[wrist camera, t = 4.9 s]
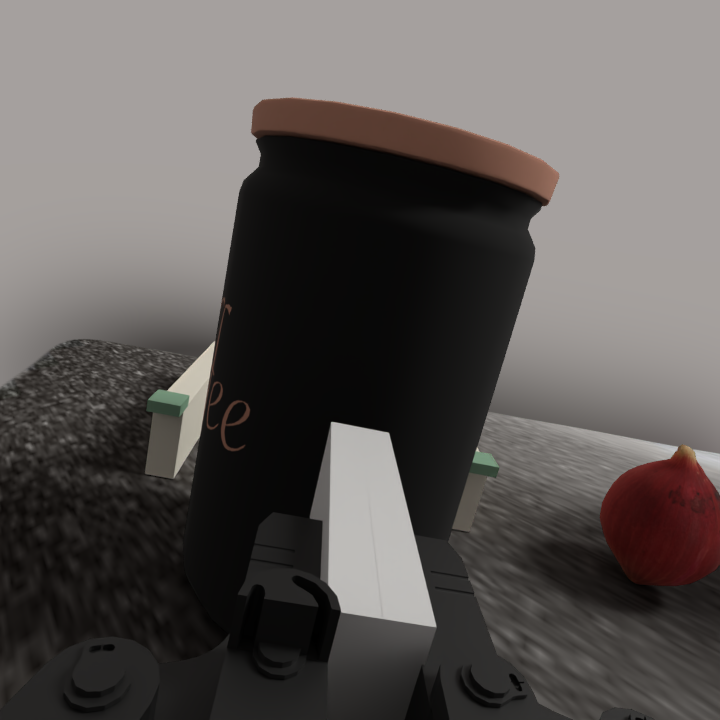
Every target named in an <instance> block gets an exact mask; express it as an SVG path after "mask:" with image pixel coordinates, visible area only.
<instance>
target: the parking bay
mask: <svg viewBox="0 0 720 720" xmlns="http://www.w3.org/2000/svg"><path fill="white" fill-rule="evenodd" d="M214 347H215V342H213V343H212V345H211V346H210V347H209V348H208V349H207V350H206V351H205V352H204V353H203V354H202V355H201V356H200V357H199V358H198V359H197V360H196V361H195V362H194V363H193V364H192V365H191V366H190V367H189V368H188V370H187V371H186V372H185V373H184V374H183V375H182V376H181V377H180V378H179V379H178V380H177V381H176V382H175V383H174V384H173V385H172V386H171V387H170V388H169V389H168V390H167V391H165V390H159V389H158V390H157V391H156V392H155V393H154V394H153V395H152V396H151V397H150V398H149V399H148V402H147V410H146V411H149V412H153V417H152V424H151V431H150V439H149V446H148V454H147V461H146V469H145V474H148V475H153V476H159V477H164V478H170V479H174V477H175V476H176V474H177V472H178V471H179V469H180V468H181V466H182V464H183V463H184V461H185V460H186V458H187V456H188V455H189V453H190V451H191V450H192V448H193V447H194V445H195V443H196V442H197V440H198V438H199V437H200V434H201V428H202V421H203V415H204V409H205V403H206V397H207V390H208V384H209V378H210V372H211V365H212V359H213V353H214ZM498 470H499V466H498V465H497V463H496V461H495V460H494V458H493V457H492V455H491V454H488V453H483V452H480V451H479V450H478V448H477V449H476V452H475V455H474V459H473V462H472V465H471V468H470V472H469V475H468V478H467V481H466V485H465V488H464V491H463V494H462V498H461V501H460V504H459V507H458V511H457V514H456V517H455V521H454V524H453V527H452V529H455V530H461V531H466V532H470V530H471V527H472V523H473V520H474V517H475V514H476V511H477V508H478V504H479V501H480V498H481V495H482V492H483V489H484V486H485V482H486V479H487V476H490V477H495V478H496V476H497V473H498Z"/></svg>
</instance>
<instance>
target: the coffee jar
mask: <svg viewBox="0 0 720 720" xmlns="http://www.w3.org/2000/svg"><path fill="white" fill-rule="evenodd" d="M251 133H252V134H253V135H254V136H255V137H256V138H257V140H256V143H257V145H258V148H259V150H260V153H261V157H260V163H259V167H258V168H257V169H256V170H255V171H254V172H253V173H251V174H250V175H249V176H248V177H247V178H246V179H245V180H244V181H243V184H242V186H241V189H240V192H239V197H238V203H237V210H236V216H235V222H234V229H233V235H232V241H231V247H230V253H229V260H228V266H227V272H226V279H225V285H224V291H223V297H222V303H221V309H220V316H219V322H218V328H217V334H216V340H215V347H214V353H213V359H212V365H211V372H210V378H209V384H208V390H207V397H206V403H205V409H204V415H203V421H202V428H201V434H200V440H199V446H198V453H197V459H196V465H195V471H194V478H193V484H192V490H191V496H190V502H189V509H188V515H187V521H186V527H185V534H184V540H183V549H184V570H185V573H186V576H187V578H188V580H189V582H190V584H191V586H192V588H193V589H194V591H195V593H196V595H197V597H198V599H199V601H200V602H201V604H202V606H203V607H204V608H205V609H206V611H207V613H208V614H209V616H210V618H211V619H212V620H213V621H214V622H215V623H216V624H218V625H219V626H220V627H221V628H222V629H223V630H224V631H226V632H227V633H228V634H230V630H231V625H232V620H233V615H234V610H235V605H236V600H237V595H238V593H239V591H240V589H241V587H242V586H243V584H244V582H245V580H246V575H247V571H248V567H249V563H250V559H251V555H252V551H253V547H254V543H255V539H256V535H257V531H258V527H259V525H260V524H261V523H262V522H263V521H264V520H265V519H266V518H267V517H268V516H269V515H270V514H272V513H273V512H275V513H281V514H287V515H292V516H298V517H304V518H310V513H311V509H312V504H313V500H314V496H315V491H316V487H317V482H318V478H319V474H320V469H321V465H322V460H323V456H324V452H325V447H326V443H327V438H328V434H329V430H330V425H331V422H336V423H341V424H346V425H351V426H356V427H362V428H367V429H372V430H377V431H382V432H387V433H389V435H390V439H391V443H392V447H393V451H394V455H395V459H396V463H397V467H398V472H399V476H400V480H401V484H402V488H403V492H404V496H405V500H406V504H407V508H408V512H409V516H410V520H411V525H412V529H413V533H414V535H418V536H424V537H429V538H435V539H441V540H446V541H447V542H448V540H449V537H450V534H451V530H452V527H453V524H454V521H455V517H456V514H457V511H458V507H459V504H460V501H461V498H462V494H463V491H464V488H465V485H466V481H467V478H468V475H469V472H470V468H471V465H472V462H473V459H474V455H475V452H476V449H477V446H478V442H479V439H480V436H481V432H482V429H483V426H484V423H485V419H486V416H487V413H488V410H489V406H490V403H491V400H492V396H493V393H494V390H495V387H496V383H497V380H498V377H499V374H500V371H501V367H502V364H503V361H504V357H505V354H506V351H507V347H508V344H509V341H510V338H511V335H512V331H513V328H514V325H515V321H516V318H517V315H518V312H519V309H520V305H521V302H522V299H523V296H524V292H525V289H526V286H527V282H528V279H529V276H530V273H531V269H532V266H533V263H534V257H535V246H534V244H533V241H532V239H531V236H530V234H529V231H528V226H529V223H530V220H531V218H532V217H533V216H534V215H536V214H537V213H538V212H539V211H540V209H541V207H542V206H546V205H548V203H549V201H550V199H551V197H552V194H553V192H554V189H555V187H556V184H557V182H558V179H559V173H558V172H557V171H555V170H554V169H553V168H552V167H550V166H549V165H548V164H547V163H545V162H544V161H543V160H541V159H539V158H537V157H535V156H532V155H530V154H528V153H526V152H523V151H521V150H519V149H517V148H515V147H512V146H510V145H508V144H505V143H502V142H499V141H496V140H493V139H490V138H487V137H484V136H481V135H477V134H474V133H471V132H468V131H465V130H462V129H459V128H456V127H452V126H448V125H444V124H440V123H436V122H432V121H428V120H424V119H420V118H416V117H412V116H408V115H404V114H400V113H396V112H391V111H385V110H380V109H374V108H369V107H363V106H358V105H352V104H346V103H341V102H333V101H323V100H312V99H302V98H280V99H266V100H262V101H261V102H259V103H258V104H257V105H256V106H255V107H254V109H253V117H252V129H251Z"/></svg>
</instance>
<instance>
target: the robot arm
mask: <svg viewBox="0 0 720 720" xmlns="http://www.w3.org/2000/svg"><path fill="white" fill-rule="evenodd" d="M0 720H572V719H570V718H568V717H565V716H563V715H561V714H558V713H556V712H554V711H552V710H550V709H548V708H546V707H544V706H542V705H540V704H539V703H538V702H537V700H536V697H535V695H534V693H533V691H532V689H531V687H530V686H529V684H528V683H527V681H526V679H525V678H524V676H523V675H522V674H521V673H520V672H519V671H518V670H517V669H516V668H515V667H514V666H513V665H512V664H511V663H510V662H508V661H506V660H505V659H503V658H501V657H500V656H498V655H497V654H496V651H495V648H494V645H493V643H492V640H491V637H490V634H489V632H488V629H487V626H486V624H485V621H484V618H483V615H482V613H481V610H480V607H479V604H478V602H477V599H476V597H474V591H473V588H472V585H471V583H470V581H468V574H467V572H466V569H465V566H464V564H463V561H462V558H461V557H460V556H459V555H458V554H457V552H456V551H455V550H454V549H453V548H452V547H451V546H450V545H449V543H448V542H447V541H446V540H441V539H435V538H429V537H424V536H418V535H414V533H413V529H412V525H411V520H410V516H409V512H408V508H407V504H406V500H405V496H404V492H403V488H402V484H401V480H400V476H399V472H398V467H397V463H396V459H395V455H394V451H393V447H392V443H391V439H390V435H389V433H387V432H382V431H377V430H372V429H367V428H362V427H356V426H351V425H346V424H341V423H336V422H331V425H330V430H329V434H328V438H327V443H326V447H325V452H324V456H323V460H322V465H321V469H320V474H319V478H318V482H317V487H316V491H315V496H314V500H313V504H312V509H311V513H310V518H304V517H298V516H292V515H287V514H281V513H275V512H273V513H272V514H270V515H269V516H268V517H267V518H266V519H265V520H264V521H263V522H262V523H261V524H260V525H259V527H258V531H257V535H256V539H255V543H254V547H253V551H252V555H251V559H250V563H249V567H248V571H247V575H246V580H245V582H244V584H243V586H242V587H241V589H240V591H239V593H238V595H237V600H236V605H235V610H234V615H233V620H232V625H231V630H230V634H229V635H228V636H227V637H226V638H225V640H224V641H223V642H222V643H221V644H219V645H218V646H217V647H215V648H214V649H213V650H211V651H209V652H207V653H204V654H202V655H200V656H198V657H194V658H190V659H186V660H182V661H175V662H167V663H160V664H158V662H157V661H156V659H155V658H154V656H153V655H152V653H151V651H150V650H149V649H147V648H146V647H144V646H142V645H141V644H139V643H137V642H136V641H134V640H130V639H125V638H119V637H114V636H111V637H102V638H94V639H88V640H86V641H83V642H81V643H78V644H75V645H73V646H70V647H68V648H66V649H65V650H63V651H62V652H61V653H59V654H58V655H57V656H55V657H54V658H53V659H51V660H50V661H49V662H47V663H46V664H45V665H44V666H43V667H42V668H41V669H40V670H39V671H38V672H37V673H36V674H35V675H34V676H33V677H32V678H31V679H30V680H29V681H28V682H27V683H26V684H25V685H24V686H23V687H22V688H21V689H20V690H19V691H18V692H17V693H16V694H15V695H14V696H13V697H12V698H11V699H10V700H9V701H8V702H7V703H6V705H5V706H4V707H3V708H2V709H1V710H0ZM599 720H654V719H653V718H651V717H649V716H647V715H644V714H642V713H639V712H637V711H635V710H632V709H624V708H612V709H610V710H607V711H605V712H603V713H602V715H601V717H600V719H599Z"/></svg>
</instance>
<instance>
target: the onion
mask: <svg viewBox="0 0 720 720" xmlns="http://www.w3.org/2000/svg"><path fill="white" fill-rule="evenodd" d="M600 521H601V525H602V529H603V533H604V536H605V539H606V542H607V544H608V545H609V547H610V549H611V551H612V552H613V554H614V556H615V557H616V559H617V561H618V562H619V564H620V566H621V567H622V569H623V571H624V573H625V574H626V575H627V577H628V578H629V579H630V580H631V581H632V582H634V583H636V584H639V585H657V586H679V585H685V584H691V583H693V582H695V581H698V580H700V579H702V578H703V577H705V576H707V575H708V574H710V573H712V572H713V571H715V570H716V569H717V567H718V566H719V565H720V495H719V493H718V492H717V490H716V488H715V487H714V485H713V484H712V482H711V481H710V480H709V479H708V477H707V476H706V475H705V473H704V471H703V469H702V468H701V466H700V465H699V464H698V462H697V460H696V456H695V452H694V451H693V450H692V449H691V448H690V447H688V446H686V445H681V446H679V447H678V450H677V452H675V453H674V455H673V456H672V457H671V459H668V460H661V461H656V462H651V463H647V464H643V465H640V466H637V467H635V468H633V469H630V470H628V471H627V472H625V473H624V474H622V475H621V476H620V477H619V478H618V479H617V480H616V481H615V482H614V483H613V484H612V486H611V488H610V489H609V491H608V492H607V494H606V496H605V498H604V500H603V502H602V507H601V513H600Z"/></svg>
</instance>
